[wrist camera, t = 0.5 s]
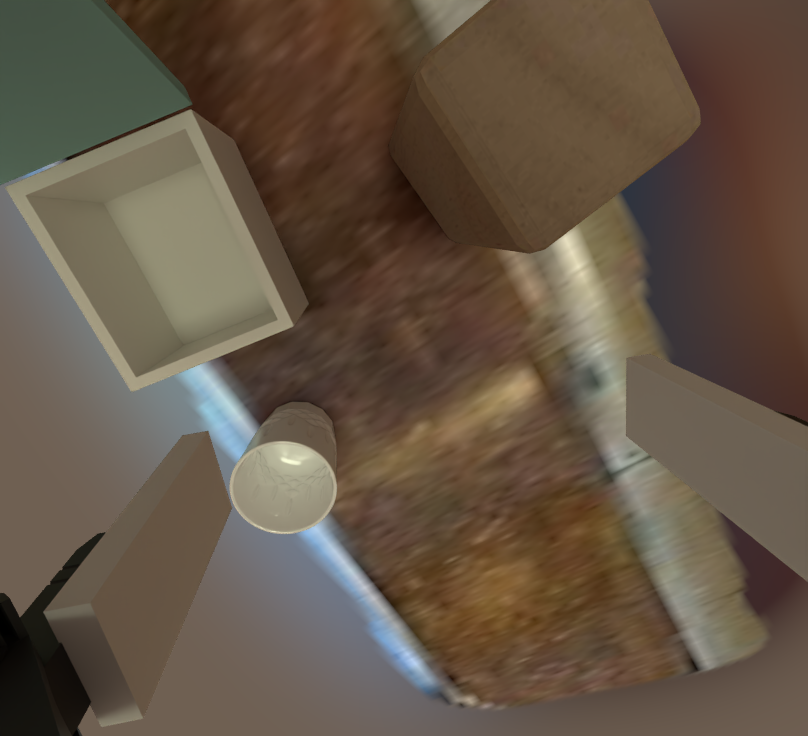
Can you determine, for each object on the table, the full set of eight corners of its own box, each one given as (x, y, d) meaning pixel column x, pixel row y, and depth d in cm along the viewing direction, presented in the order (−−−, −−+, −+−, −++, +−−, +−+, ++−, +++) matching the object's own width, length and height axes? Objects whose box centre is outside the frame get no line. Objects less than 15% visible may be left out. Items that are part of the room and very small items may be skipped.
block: (452, 247, 41) (535, 263, 22) (382, 146, 38) (406, 65, 19) (546, 173, 40) (719, 123, 21) (481, 64, 37) (612, -108, 18)
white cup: (239, 425, 44) (206, 480, 34) (307, 378, 43) (292, 421, 34) (292, 485, 46) (275, 552, 37) (357, 441, 45) (357, 497, 36)
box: (95, 197, 37) (4, 187, 28) (234, 139, 37) (190, 109, 27) (183, 354, 41) (131, 392, 32) (308, 303, 41) (294, 326, 32)
